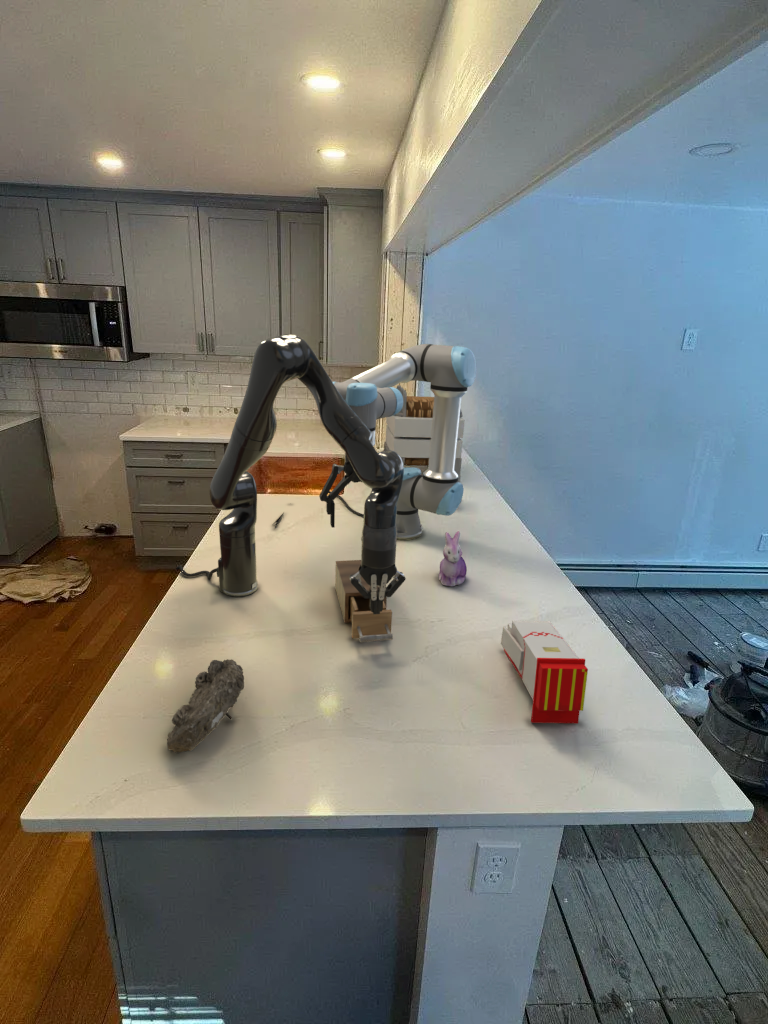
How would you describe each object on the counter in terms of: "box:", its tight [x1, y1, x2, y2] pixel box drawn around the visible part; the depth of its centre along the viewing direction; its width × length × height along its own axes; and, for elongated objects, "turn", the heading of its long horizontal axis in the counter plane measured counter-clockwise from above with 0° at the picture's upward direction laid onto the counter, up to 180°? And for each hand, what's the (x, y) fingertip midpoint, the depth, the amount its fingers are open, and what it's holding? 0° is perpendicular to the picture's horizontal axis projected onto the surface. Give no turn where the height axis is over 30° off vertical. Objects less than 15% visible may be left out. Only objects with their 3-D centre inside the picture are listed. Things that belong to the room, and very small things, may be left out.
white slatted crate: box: [383, 384, 465, 483], centre depth 268 cm, size 34×33×41 cm
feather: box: [273, 503, 291, 529], centre depth 211 cm, size 2×28×2 cm
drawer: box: [348, 596, 394, 643], centre depth 139 cm, size 23×9×6 cm, turn 12°
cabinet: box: [334, 559, 388, 624], centre depth 151 cm, size 19×11×8 cm, turn 12°
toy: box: [500, 620, 589, 724], centre depth 121 cm, size 12×13×30 cm
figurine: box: [438, 530, 468, 587], centre depth 165 cm, size 9×10×15 cm
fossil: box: [166, 658, 245, 754], centre depth 106 cm, size 22×10×15 cm
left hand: (376, 612), depth 129 cm, fingers closed
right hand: (357, 524), depth 150 cm, fingers open, 13 cm apart
